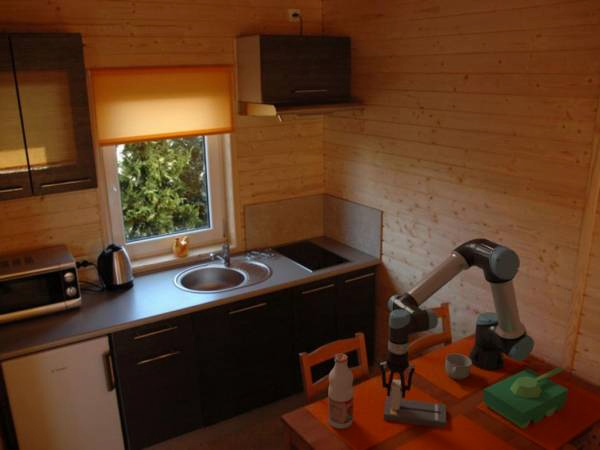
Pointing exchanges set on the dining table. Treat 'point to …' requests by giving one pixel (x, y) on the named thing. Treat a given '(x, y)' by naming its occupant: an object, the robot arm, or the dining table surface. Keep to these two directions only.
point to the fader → (396, 394)
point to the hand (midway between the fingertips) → (395, 403)
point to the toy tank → (526, 397)
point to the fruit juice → (340, 394)
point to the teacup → (457, 365)
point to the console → (417, 413)
